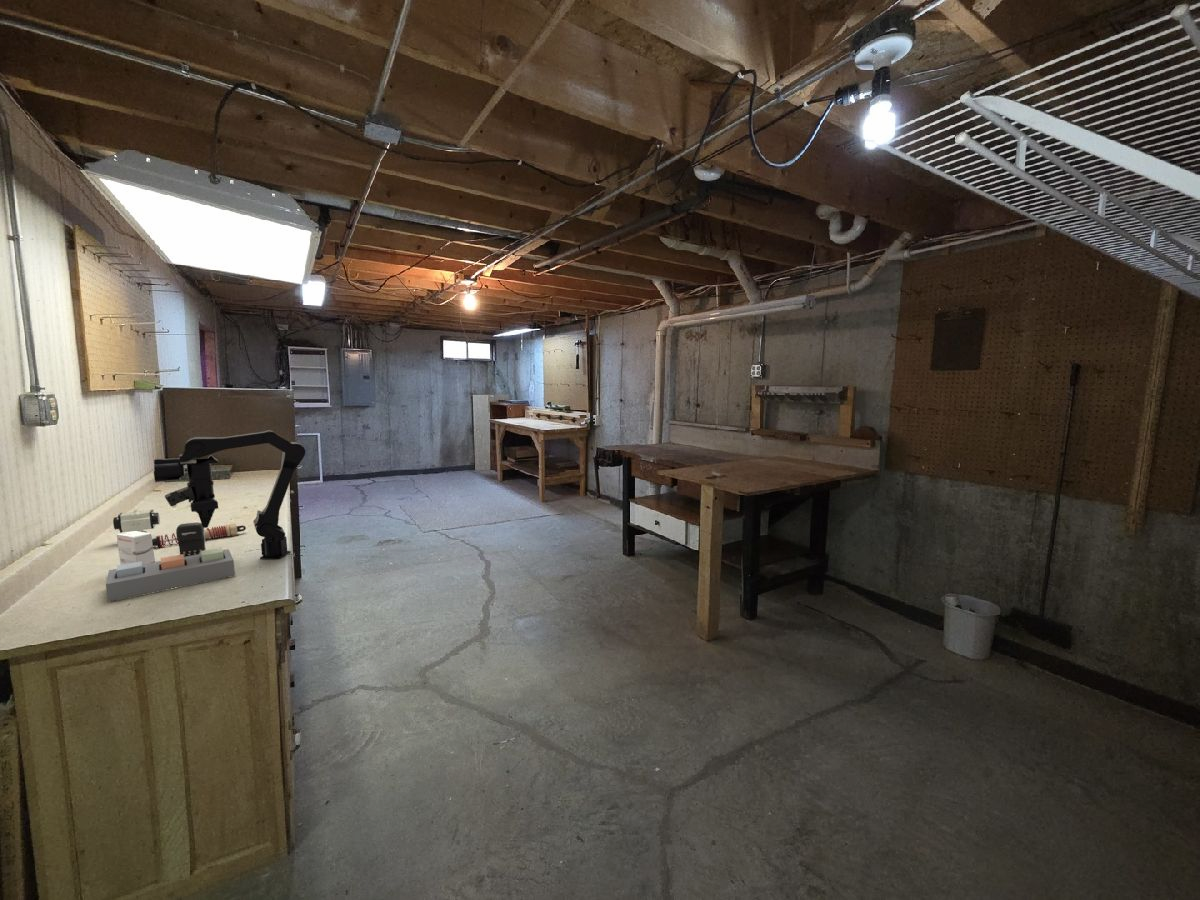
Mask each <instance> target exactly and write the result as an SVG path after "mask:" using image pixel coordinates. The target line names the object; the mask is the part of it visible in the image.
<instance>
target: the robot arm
mask: <svg viewBox="0 0 1200 900" xmlns="http://www.w3.org/2000/svg"><path fill="white" fill-rule="evenodd" d="M263 444H269V445H271V446H272V447H274V448H276V449H278V450H279V451H281V452H282V453H281V454H282V455H281V464H280V468H279V471H278V474H277V477H276V479H275V482H274V485H273V487H272V490H271V492H270V495H269V498H268V501H267V503H266V506H265V507H264V508H263V510H257V511H256V512H257V513H256V517H255V518H254V520H252V521H253V525H254V529H255V531H256V532H255V533H256V534H258V535H257V536H260V537H261V543H260V549H261V555H260V557H259V558H260V559H261V560H263V559H265V560H268V559H271V560H275V559H282V558H283V557H285V556H287V555H288V554H290V553H291V550H288V540H287V536H286V532H285V530H284V529H283V527H282V526H280V525H279V521H280V520H279V518H280V510H281V506H282V505H283V502H284V499H285V496H286V493H287V491H288V489H289V486H290V483H291V480H292V478H293V475H294V473H295V471H296V470H297V468H298V467H299V465H300V463H301V462H302V461H303V459H304V458H305V456H306V448H305V447H304V446H303V445H301V444H300V443H299V442H295V441H291V442H290V441H289V440H287V439H286V438H283V437H282V436H280V435H278V434H276V432H274V431H272V430H271V429H270V430H264V431H259V432H251V433H244V434H237V435H232V436H222V437H219V436H218V437H215V436H195V437H191V438H188V440H187V441H186V442H185V445H184V451H183V452H182V453H180V454H179V455H178V458H177V457H176V458H175V457H174V458H155V459H154V460H153V469H154V470H153V478H154V482H155V483H162V482H174V481H181V478H183V477H185V476H186V471H185V470H187V479H188V481H187V484H186V485H187V486H186V487H183V488H179V489H177V490H174V491H172V492H169V493H167V494H165V495H164V498H165V500H166V501H167V503H168V505H169V506H170V507H174V506H177V504H178V505H179V504H181V503H182V502H185V501H187V500H188V503H190V505H189V506H190V510H191V512H192V513H194V512H195V513H197V515H198V517H199V520H200V522H201V523H202V526H203V528H204V529H205V528H206V529H207V528H209V525H210V522H211V520H212V517H213V515H214V512H215V510H217V509H219V502H218V500H217V499H215V498H216V495H215V493H214V492H215V490H214V480H213V473H212V472H213V471H212V464H218V463H219V460H218V459H217V458H215V457H214V456H213V454H215V453H218V452H221V451H225V450H230V449H237V448H242V447H243V448H244V447H249V446H250V447H251V446H257V445H263ZM205 456H208V457H205ZM194 458H195V461H191V460H193V459H194ZM185 466H186V469H185Z"/></svg>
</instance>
